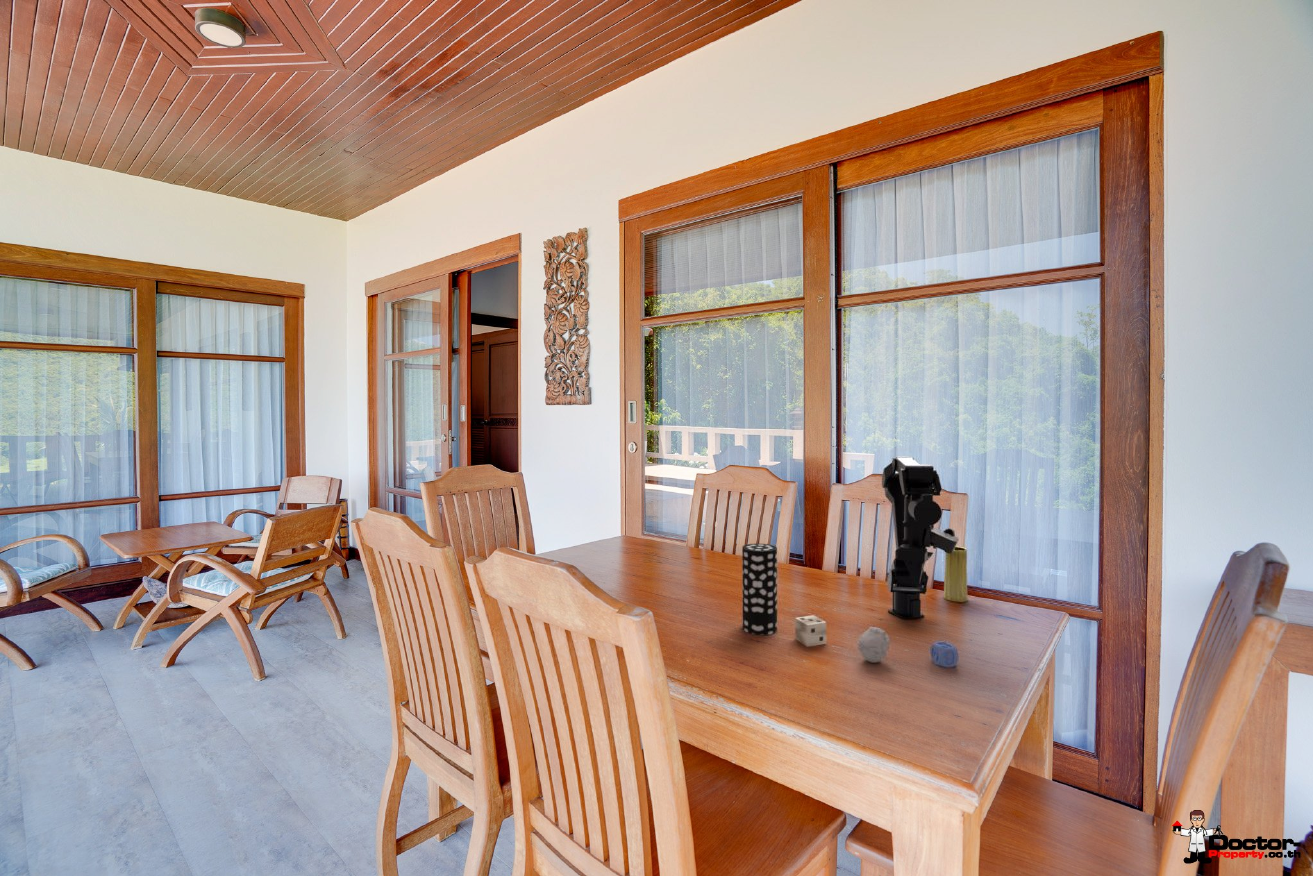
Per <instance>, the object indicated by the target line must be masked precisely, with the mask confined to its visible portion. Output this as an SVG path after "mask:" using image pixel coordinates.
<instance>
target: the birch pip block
mask: <svg viewBox="0 0 1313 876" xmlns="http://www.w3.org/2000/svg"><path fill="white" fill-rule="evenodd" d="M794 619H795V620H794V621H795V622H794V630H795V631H794V632H795V633H794V635H795V636H794V638H795V640H796V641H798V642H800V643H801V644H802V645H804V646H805V647H807V648H808V647H809V648H810V647H815V646H820V645H826V644H827V621H825V620H823V619H821V618H819V617H818V616H816V615H814V614H813V615H812V614H811V615H806V616H805V615H804V616H800V617H795V618H794Z"/></svg>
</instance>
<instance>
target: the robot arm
mask: <svg viewBox="0 0 1313 876" xmlns="http://www.w3.org/2000/svg"><path fill="white" fill-rule="evenodd" d="M934 467H935V466H933V464H919V463H918V462H917V461H916V460H915V458H914V457H911V456H895V457H894V456H893V457H892V460H891V463H889V464H888V465H886V467H884V468H883V472H882V475H881V488H882V489H884V495H885V498H886V499H887V500H888V501H889V502H890V504H891V507H892V508H891V509H892V518H893V527H894V528H893V530H894V540H895V552H894V553H895V555H894V559H893V561H892V563H891V565H890V568H889V569H888V570H889V571H888V575H887V579H886V580H887V582H886V583H887V588H888V591H889V592H890V593H892V608H889V609H887V612H888V613H890V614H891V615H894V616H897V617H898V618H901V619H903V620H910V619H917V618H923V617H925V613H922V611H921V606H922V603H921V594H922V595H926V593H927V587H928V583H929V582H928V581H929V576H928V574H927V571H926V570H925V569H924V567H925V565H926V564H925V563H926V562H927V561H929V559H930V558H931V557H932V556H933V554H934V552H932V551H928V548H931V547H932V549H940V550H941V551H944V553H945V554H946V553H949V554H952V552H953V551H954V549H955V547H956V546H957V545H958V542H959V537H958V536H956V535H955V533H956V532H955V530H954V529H952V528H951V527H947V528H945V530H943V531H942V530H941V529H937V528H935V525H936V524H937V523H939V521H940V520H941V518H942V515H943V513H942V512H943V511H942V509H941V506H940V505H939V504H938V503H937V502H936V501H935V500H934V496H935V497H936V496H937V497H940V496H941V492H942V484H941V480H940V476H939V474H938V472H937V469H935V468H934Z"/></svg>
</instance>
